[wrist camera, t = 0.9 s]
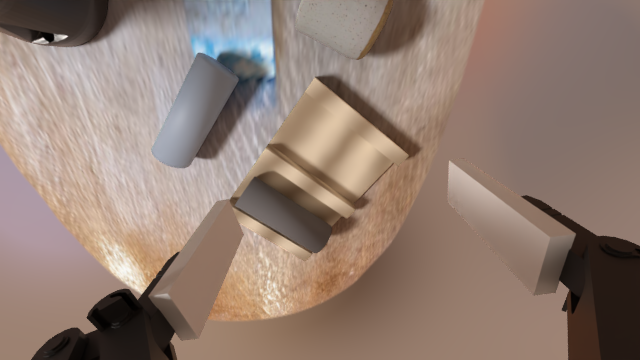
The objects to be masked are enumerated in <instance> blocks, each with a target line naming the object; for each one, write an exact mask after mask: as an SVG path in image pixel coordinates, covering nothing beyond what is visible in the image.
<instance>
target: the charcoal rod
mask: <svg viewBox="0 0 640 360" xmlns="http://www.w3.org/2000/svg"><path fill="white" fill-rule="evenodd" d="M235 206H236V207H238V208H240V209H241V210H243V211H245V212H246V213H248V214H250V215H251V216H253V217H255V218H256V219H258V220H260V221H261V222H263V223H265V224H266V225H268V226H270V227H271V228H273V229H275V230H277V231H278V232H280V233H282V234H283V235H285V236H287V237H288V238H290V239H292V240H293V241H295V242H297V243H298V244H300V245H302V246H303V247H305V248H307V249H308V250H310V251H312V252H313V253H318V252H319V251H321V250H322V249H323V247H324V246H325V245H326V243H327V242H328V240H329V238H330V235H331V231H332V227H331V225H329V224H328V223H326V222H325V221H323V220H322V219H320V218H318V217H317V216H315V215H314V214H312V213H311V212H309V211H308V210H306V209H305V208H303V207H301V206H300V205H298V204H297V203H295V202H294V201H292V200H291V199H289V198H288V197H286V196H285V195H283V194H281V193H280V192H278V191H277V190H275V189H274V188H272V187H271V186H269V185H268V184H266V183H264V182H263V181H261V180H260V179H258V178H257V177H254V178H253V179H252V180H251V182H250V183H249V185H248V186H247V187H246V189H245V190H244V192H243V193H242V195H241V196H240V198H239V199H238V201H237V202H236V204H235Z"/></svg>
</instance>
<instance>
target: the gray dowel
mask: <svg viewBox="0 0 640 360" xmlns="http://www.w3.org/2000/svg"><path fill="white" fill-rule="evenodd" d="M238 81H239V79H238V77H237V76H236V75H235V74H234V73H233V72H232V71H231V70H229V69H228V68H227V67H225V66H224V65H223V64H221V63H220V62H219V61H217V60H215V59H214V58H212V57H210V56H208V55H206V54H203V53H197V56H196V58H195V60H194V62H193V64H192V66H191V68H190V70H189V72H188V74H187V76H186V78H185V80H184V82H183V85H182V87H181V89H180V91H179V93H178V95H177V97H176V99H175V101H174V103H173V105H172V107H171V109H170V111H169V114H168V116H167V118H166V120H165V122H164V124H163V126H162V128H161V130H160V132H159V134H158V136H157V138H156V140H155V143H154V145H153V147H152V149H151V151H152V154H153V155H154V157H155V158H156V159H157V160H159V161H160V162H162V163H164V164H166V165H168V166H171V167H175V168H186V167H188V166H190V165H191V163H192V161H193V159H194V158H195V156H196V154H197V153H198V151H199V149H200V147H201V146H202V144H203V142H204V140H205V139H206V137H207V135H208V133H209V132H210V130H211V128H212V126H213V125H214V123H215V121H216V119H217V118H218V116H219V114H220V112H221V111H222V109H223V107H224V105H225V104H226V102H227V100H228V98H229V97H230V95H231V93H232V92H233V90H234V88H235V86H236V85H237V83H238Z"/></svg>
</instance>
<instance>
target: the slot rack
mask: <svg viewBox="0 0 640 360" xmlns="http://www.w3.org/2000/svg"><path fill="white" fill-rule="evenodd" d="M408 156H409V155H408V154H407V153H406V152H405V151H404V150H403V149H402V148H401V147H399V146H398V145H397V144H396V143H395V142H393V141H392V140H391V139H390V138H389V137H387V136H386V135H385V134H384V133H383V132H381V131H380V130H379V129H378V128H377V127H375V126H374V125H373V124H372V123H371V122H369V121H368V120H367V119H366V118H365V117H363V116H362V115H361V114H360V113H358V112H357V111H356V110H355V109H354V108H352V107H351V106H350V105H349V104H348V103H346V102H345V101H344V100H343V99H342V98H340V97H339V96H338V95H337V94H336V93H334V92H333V91H332V90H331V89H330V88H328V87H327V86H326V85H325V84H323V83H322V82H321V81H320V80H319V79H317V78H316V77H315V78H314V80H313V81H312V83H311V84H310V85H309V87H308V88H307V90H306V91H305V93H304V94H303V95H302V97H301V98H300V100H299V101H298V103H297V104H296V105H295V107H294V108H293V110H292V111H291V113H290V114H289V116H288V117H287V118H286V120H285V121H284V123H283V124H282V126H281V127H280V128H279V130H278V131H277V133H276V134H275V136H274V137H273V138H272V140H271V141H270V143H269V144H268V146H267V147H266V148H265V150H264V151H263V153H262V154H261V156H260V157H259V158H258V160H257V161H256V163H255V164H254V166H253V167H252V169H251V170H250V171H249V173H248V174H247V176H246V177H245V179H244V180H243V181H242V183H241V184H240V186H239V187H238V189H237V190H236V191H235V193H234V194H233V196H232V197H231V199H230V200H229V201H230V203H231V206H232V208H233V210H234V213H235V215H236V218H237V220H238V222H239V224H241V225H243V226H245V227H246V228H248V229H250V230H252V231H253V232H255V233H257V234H258V235H260V236H262V237H264V238H265V239H267V240H269V241H271V242H272V243H274V244H276V245H277V246H279V247H281V248H283V249H284V250H286V251H288V252H290V253H291V254H293V255H295V256H297V257H298V258H300V259H302V260H303V261H306V260H307V259H308V258H309V257H310V256H311V255H312V251H310V250H308V249H307V248H305V247H303V246H302V245H300V244H298V243H297V242H295V241H293V240H292V239H290V238H288V237H287V236H285V235H283V234H282V233H280V232H278V231H277V230H275V229H273V228H271V227H270V226H268V225H266V224H265V223H263V222H261V221H260V220H258V219H256V218H255V217H253V216H251V215H250V214H248V213H246V212H245V211H243V210H241V209H240V208H238V207H236V206H235V204H236V202H237V201H238V199H239V198H240V196H241V195H242V193H243V192H244V190H245V189H246V187H247V186H248V185H249V183H250V182H251V180H252V179H253V178H254V177H257V178H258V179H260V180H261V181H263V182H264V183H266V184H268V185H269V186H271V187H272V188H274V189H275V190H277V191H278V192H280V193H281V194H283V195H285V196H286V197H288V198H289V199H291V200H292V201H294V202H295V203H297V204H298V205H300V206H301V207H303V208H305V209H306V210H308V211H309V212H311V213H312V214H314V215H315V216H317V217H318V218H320V219H322V220H323V221H325V222H326V223H328V224H329V225H331V227H332V226H333V225H334V224H335V223H336V222H337V221H338V220H339V218H340V217H341V216H344V217H345V218H348V217H349V216H350V215H351V214H352V213H353V212H354V211H355V205H354V203H355V202H356V201H357V200H358V199H359V198H360V197H361V196H362V195H363V194H364V193H365V192H366V191H367V189H368V188H369V187H370V186H371V185H372V184H373V183H374V182H375V181H376V180H377V179H378V178H379V177H380V176H381V175H382V174H383V173H384V172H385V171H386V170H387V169H388V168H389V167H390V166H391V165H392V164H393V163H395V164H396V165H397V166H398V167H399V166H400V164H401V163H402V162H403V161H404V160H405V159H406V158H407V157H408Z"/></svg>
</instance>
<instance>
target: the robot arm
mask: <svg viewBox="0 0 640 360" xmlns="http://www.w3.org/2000/svg"><path fill="white" fill-rule="evenodd" d="M107 5H108V0H0V32H2V33H5V34H7V35H10V36H13V37H15V38H18V39H21V40H23V41H26V42H30V43H34V44H38V45H45V46H57V47H73V46H78V45H81V44H83V43H85V42H87V41H89V40H90V39H92V38H93V37H94V36H95V35H96V34H97V33H98V31H99V30H100V28H101V27H102V25H103V22H104V20H105V16H106V12H107ZM447 202H448V203H449V204H450V205H451V206H452V207H453V208H454V209H455V210H456V211H457V212H458V213H459V214H460V216H461V217H462V218H463V219H464V220H465V221H466V222H467V223H468V224H469V226H470V227H471V228H472V229H473V230H474V231H475V232H476V233H477V234H478V235H479V236H480V238H481V239H482V240H483V241H484V242H485V243H486V244H487V245H488V246H489V247H490V248H491V250H492V251H493V252H494V253H495V254H496V255H497V256H498V257H499V258H500V259H501V260H502V261H503V262H504V263H505V265H506V266H507V267H508V268H509V269H510V270H511V271H512V272H513V274H514V275H515V276H516V277H517V278H518V279H519V280H520V281H521V282H522V283H523V284H524V285H525V287H526V288H527V289H528V290H529V291H530V292H531V293H532V294H533V295H540V294H548V293H555V292H556V290H557V287H558V284H559V281H561V282H562V283H563V284H564V285H565V286H566V287H567V288H568V289H569V292H568V295H567V297H566V300H565V303H564V305H563V308H562V311H565V312H566V310H567V319H568V320H567V321H568V360H640V246H639V245H636V244H634V243H632V242H629V241H627V240H623V239H619V238H616V237H609V236H596V235H595V234H593V233H592V232H590V231H589V230H587V229H585V228H584V227H582V226H580V225H579V224H577V223H576V222H574V221H573V220H571V219H569V218H568V217H566V216H565V215H562V214H561V213H560V212H558V211H557V210H555V209H552V207H550V206H549V205H547V204H546V203H544V202H542V201H540V200H538V199H535V198H532V197H529V196H527V195H526V196H519V195H518V194H516V193H515V192H513V191H512V190H510V189H509V188H507V187H505V186H504V185H502V184H501V183H500V182H498V181H497V180H495V179H494V178H492V177H491V176H489V175H487V174H486V173H485V172H483V171H481V170H480V169H479V168H477V167H476V166H474V165H473V164H471V163H470V162H468V161H467V160H465V159H464V158H461V159H455V160H450V161H449V177H448V197H447ZM243 235H244V234H243V232H242V229H241V227H240V225H239V222H238V220H237V218H236V215H235V213H234V210H233V208H232V206H231V203H230V201H229V199H227V200H221V201H217V202H216V203H215V205H214V206H213V207H212V209H211V210H210V211H209V213H208V214H207V216H206V217H205V218H204V220H203V221H202V223H201V224H200V225H199V227H198V228H197V229H196V231H195V232H194V234H193V235H192V236H191V238H190V239H189V240H188V242H187V243H186V245H185V246H184V247H183V249H182V250H181V252H177V253H176V254H175V255H173V256H172V257H171V258H170V259H169V260H168V261H167V262H166V263H165V265H164V266H163V267H162V269H161V271H159V273H158V274H157V275H156V278H154V279H153V281H152V282H151V283H150V285H149V286H148V287H147V289H146V290H145V291H144V293H143V294H142V295H141V297H140V298H139V299H138V300H137V299H136V297H135V296H134V295H133V294H132V293H131V291H130V290H129V289H121V290H117V291H115V292H113V293H111V294H109V295H107V296H106V297H104V298H103V299H101V300H100V301H99V302H98V303H97V304H96V305H94V307H93V308H92V309H91V310H90V312H89V313H88V316H87V319H88V320H89V321H90V322H91V323H92V324H93V325H94V326H95V327H96V328H97V329H98V330H95V331H93V332H90V333H88V334H84V333H83V332H82V331H81V330H80V329H78V328H70V329H67V330H65V331H63V332H61V333H59V334H57V335H55V336H54V337H52V338H51V339H50V340H48V341H47V342H46V343H45V344H44V345H43V346H42V347H41V348H40V349H39V350H38V351H37V352H36V354H35V355H34V357H33V358H32V359H31V360H177V357H176V353H175V349H174V346H173V345H172V343H171V342H170V340H171V338H172V337H173V335H174V333H176V334H177V335H178V337H179V338H180V339H181V340H182V341H183V340H190V339H198V338H199V337H200V334H201V332H202V330H203V328H204V325H205V323H206V321H207V318H208V316H209V314H210V311H211V309H212V307H213V304H214V302H215V300H216V297H217V295H218V293H219V291H220V288H221V286H222V284H223V281H224V279H225V277H226V274H227V272H228V270H229V267H230V265H231V263H232V260H233V258H234V256H235V253H236V251H237V249H238V246H239V244H240V242H241V239H242V237H243Z"/></svg>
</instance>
